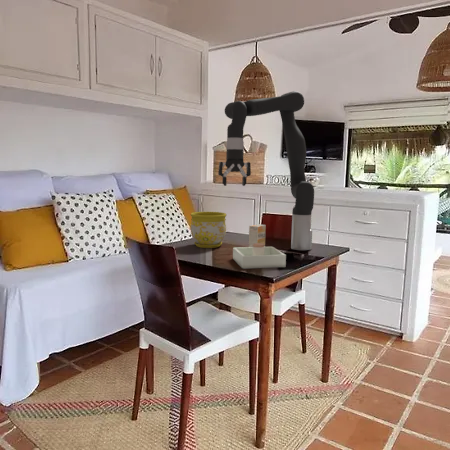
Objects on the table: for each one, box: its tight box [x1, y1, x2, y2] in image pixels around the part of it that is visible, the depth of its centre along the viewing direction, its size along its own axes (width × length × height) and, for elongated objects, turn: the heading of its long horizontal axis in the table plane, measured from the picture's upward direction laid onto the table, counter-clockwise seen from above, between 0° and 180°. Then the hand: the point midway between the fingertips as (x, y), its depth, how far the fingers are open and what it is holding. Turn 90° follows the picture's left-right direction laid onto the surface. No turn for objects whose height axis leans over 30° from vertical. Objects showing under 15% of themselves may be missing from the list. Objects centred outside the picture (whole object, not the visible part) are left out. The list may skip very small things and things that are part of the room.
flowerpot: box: [190, 211, 227, 249], centre depth 215 cm, size 18×18×16 cm
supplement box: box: [248, 223, 267, 247], centre depth 200 cm, size 8×5×13 cm, turn 148°
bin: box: [232, 246, 287, 270], centre depth 180 cm, size 18×18×5 cm
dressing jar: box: [252, 243, 266, 256], centre depth 180 cm, size 5×5×7 cm
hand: (234, 185), depth 189 cm, fingers open, 8 cm apart
